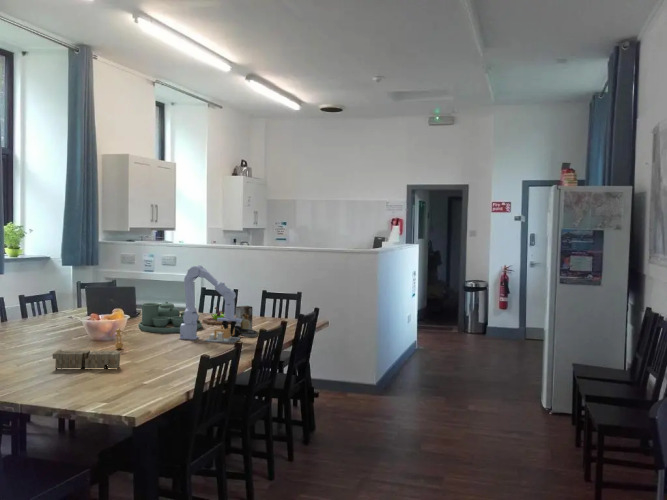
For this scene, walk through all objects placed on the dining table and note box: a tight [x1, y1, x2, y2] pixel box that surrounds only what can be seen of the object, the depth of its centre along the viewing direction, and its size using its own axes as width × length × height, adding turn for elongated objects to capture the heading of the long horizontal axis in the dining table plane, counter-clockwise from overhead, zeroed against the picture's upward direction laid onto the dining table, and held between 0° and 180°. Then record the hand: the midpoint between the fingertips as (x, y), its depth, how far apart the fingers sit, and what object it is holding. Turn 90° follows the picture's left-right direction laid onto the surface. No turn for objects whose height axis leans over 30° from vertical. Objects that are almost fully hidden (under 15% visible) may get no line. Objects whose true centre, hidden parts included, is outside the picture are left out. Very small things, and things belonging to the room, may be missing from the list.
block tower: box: [52, 349, 121, 369], centre depth 275 cm, size 8×8×29 cm
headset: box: [228, 324, 258, 338], centre depth 363 cm, size 14×10×20 cm
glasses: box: [213, 325, 235, 338], centre depth 347 cm, size 8×13×5 cm, turn 173°
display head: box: [203, 331, 241, 344], centre depth 347 cm, size 18×14×5 cm
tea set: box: [137, 301, 202, 334], centre depth 383 cm, size 40×40×16 cm
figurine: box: [110, 327, 127, 350], centre depth 315 cm, size 8×6×12 cm
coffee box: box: [235, 305, 253, 330], centre depth 378 cm, size 9×6×16 cm
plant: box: [201, 306, 231, 326], centre depth 406 cm, size 20×20×11 cm
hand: (229, 333), depth 346 cm, fingers closed on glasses, 2 cm apart
